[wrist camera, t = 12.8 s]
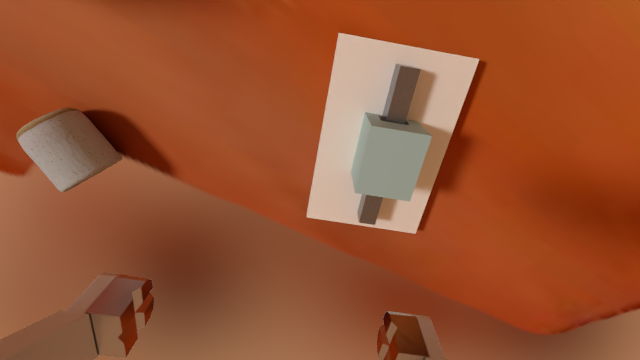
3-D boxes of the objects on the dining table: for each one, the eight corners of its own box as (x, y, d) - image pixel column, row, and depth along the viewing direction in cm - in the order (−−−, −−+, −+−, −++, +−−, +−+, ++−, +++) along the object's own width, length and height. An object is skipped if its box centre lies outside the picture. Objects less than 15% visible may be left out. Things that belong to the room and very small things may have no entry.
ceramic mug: (87, 97, 39) (34, 112, 32) (134, 151, 42) (95, 175, 35) (32, 137, 41) (-28, 159, 34) (80, 185, 44) (34, 214, 37)
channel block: (364, 111, 37) (371, 125, 32) (416, 121, 38) (432, 135, 32) (350, 171, 41) (354, 193, 35) (398, 179, 41) (409, 201, 36)
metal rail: (395, 63, 35) (400, 65, 33) (414, 66, 35) (420, 69, 33) (357, 212, 44) (358, 222, 41) (372, 215, 44) (375, 224, 41)
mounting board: (338, 32, 35) (339, 32, 34) (473, 58, 36) (479, 59, 35) (307, 211, 45) (306, 217, 44) (412, 227, 46) (415, 233, 45)
